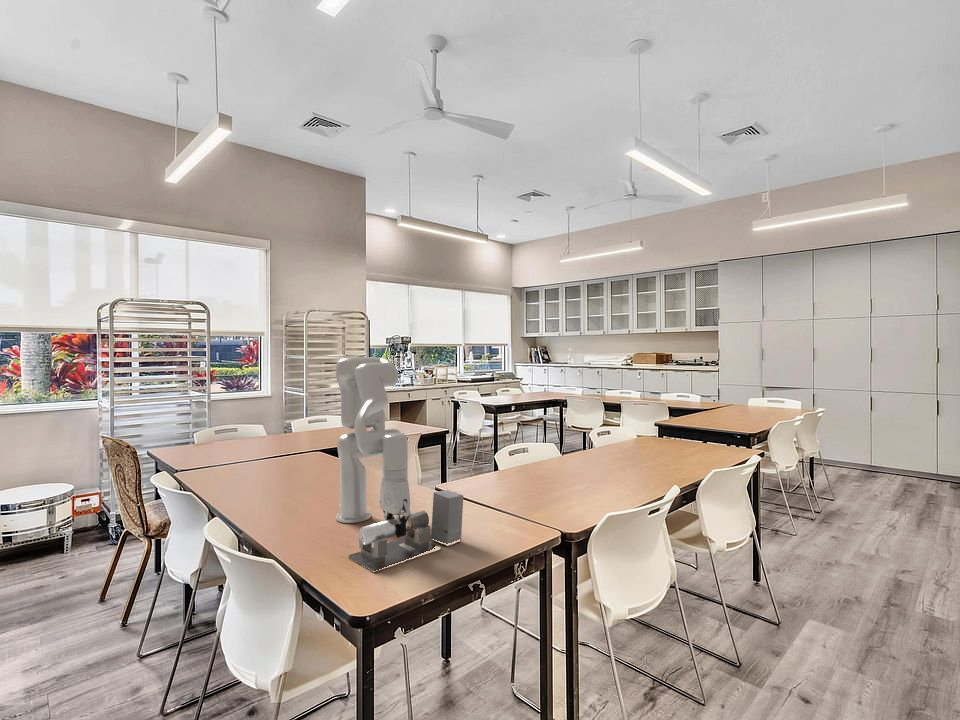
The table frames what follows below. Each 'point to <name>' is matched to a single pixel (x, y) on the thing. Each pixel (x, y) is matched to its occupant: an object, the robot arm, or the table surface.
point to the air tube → (391, 527)
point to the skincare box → (447, 516)
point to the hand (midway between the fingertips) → (395, 533)
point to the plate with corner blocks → (393, 549)
